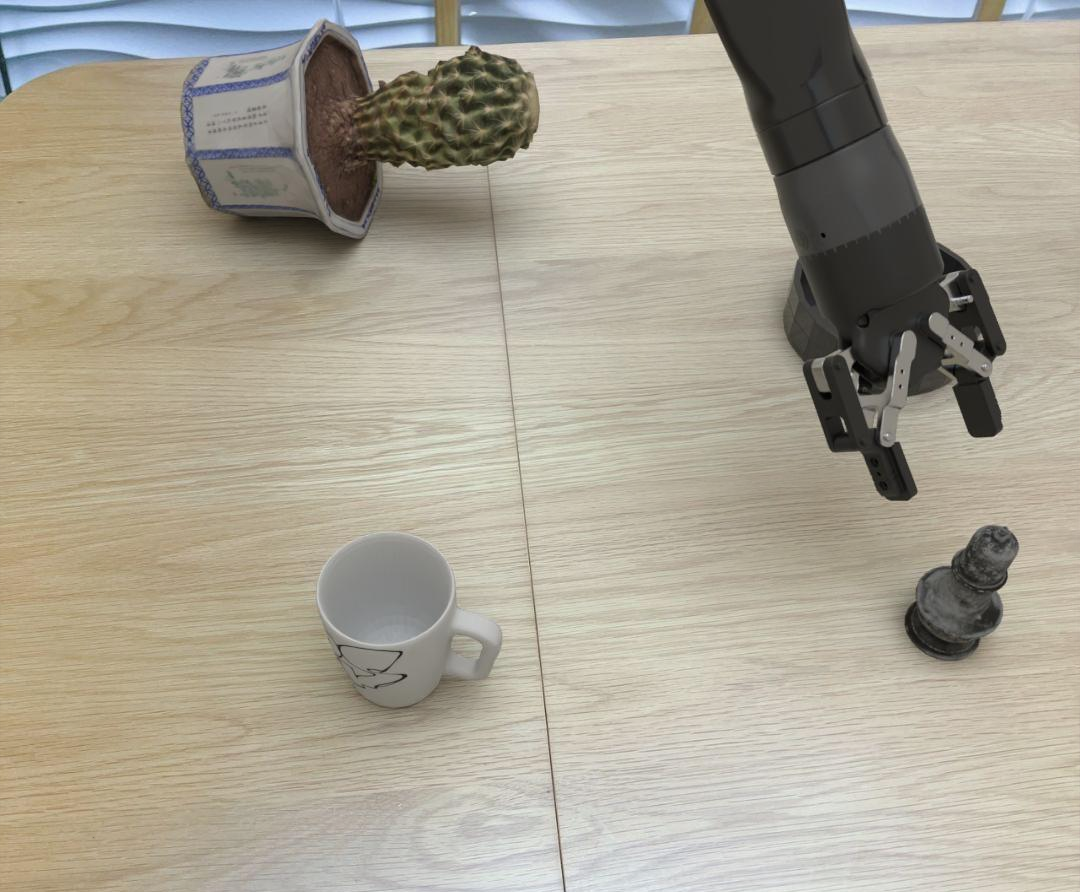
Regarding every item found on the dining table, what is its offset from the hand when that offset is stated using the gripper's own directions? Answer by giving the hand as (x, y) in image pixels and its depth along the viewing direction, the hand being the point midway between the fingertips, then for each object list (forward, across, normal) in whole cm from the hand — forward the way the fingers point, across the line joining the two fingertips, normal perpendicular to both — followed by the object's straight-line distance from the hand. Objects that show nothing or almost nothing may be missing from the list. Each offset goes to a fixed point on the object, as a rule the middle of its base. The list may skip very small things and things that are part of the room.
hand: (946, 465), depth 69 cm
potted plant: (-31, -6, +50) cm, 59 cm away
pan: (-3, +20, +22) cm, 30 cm away
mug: (-1, -31, +20) cm, 37 cm away
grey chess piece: (+13, 0, +6) cm, 14 cm away
